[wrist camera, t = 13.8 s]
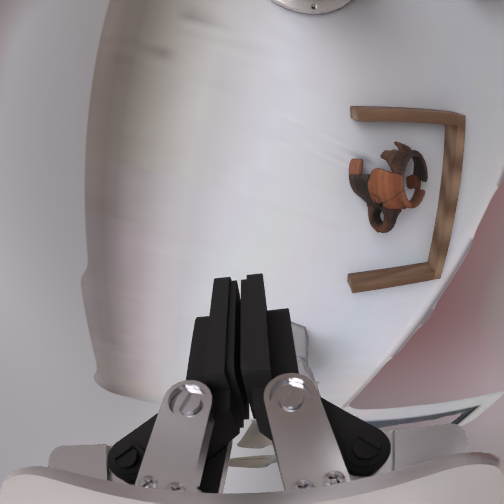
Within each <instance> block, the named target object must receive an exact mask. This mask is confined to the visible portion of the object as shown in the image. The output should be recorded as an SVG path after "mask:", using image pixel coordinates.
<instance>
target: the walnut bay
mask: <svg viewBox="0 0 504 504" xmlns="http://www.w3.org/2000/svg"><path fill="white" fill-rule="evenodd" d="M350 112H351V118H353V119H355V120H357V121H398V122H422V123H437V124H445V144H444V158H443V170H442V179H441V188H440V196H439V203H438V210H437V216H436V222H435V228H434V233H433V239H432V244H431V249H430V253H429V258H428V262H426V263H419V264H413V265H406V266H400V267H393V268H386V269H379V270H372V271H365V272H358V273H351V274H348V284H349V286H350V288H351V291H352V293H357V292H363V291H370V290H376V289H383V288H389V287H395V286H401V285H406V284H412V283H418V282H423V281H429V280H434V279H439V278H441V274H442V270H443V267H444V263H445V259H446V255H447V251H448V246H449V242H450V237H451V233H452V228H453V223H454V218H455V212H456V206H457V200H458V194H459V187H460V180H461V172H462V162H463V152H464V138H465V115H462V114H459V113H455V112H450V111H441V110H431V109H419V108H403V107H378V106H350Z"/></svg>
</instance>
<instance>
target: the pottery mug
mask: <svg viewBox="0 0 504 504" xmlns="http://www.w3.org/2000/svg"><path fill="white" fill-rule="evenodd" d="M394 143H395V145H396V146H397V147H398V148H399V150H400V151H398V150H391V151H388V150H385V151H384V152H383V153H382V154H381V158H382V159H384V160H386V161H387V163H388V164H389V166H390V168H391V170H392V172H389V171H385V170H383V169H380V168H376V169H374V170H372V172H371V174H370V175H369V174H367V175H362V174H361V172H362V164H363V160H362V159H352V160H351V162H350V166H349V180H350V185H351V187H352V189H353V191H354V192H355V193H356V194H357V195H358V196H360V197H361V198H362V199H363V200H364V201H365V202H366V203H367V206H368V216H369V221H370V224H371V226H372V227H373V228H374V229H375V230H376V231H377V232H381V233H386V232H389V231H390V230H391V229H392V228H393V227H394V225H395V223H396V219H397V217H398V215H399V213H400V212H401V209H406V208H407V207H408V208H415V207H416V206H418V205H419V204H420V202H421V201H422V199H423V197H424V195H425V191H424V190H421V189H420V187H421V180H422V181H424V182H427V178H428V176H427V175H428V174H427V166H426V162H425V160H424V158H423V156H422V155H421V153H419V152H418V151H416V150H411V149H410V148H409V147H408V146H406V145H404V144H401V143H399V142H394ZM411 157H412V158H413V161H414V172H413V175H410V176H408V177H407V187H408V188H410V189H412V188H414V189H415V192H414V194H413V197H412V199H411V200H410V201H409V200H408V199H407V197H406V195H405V191H404V182H403V178H404V176H403V175H404V171H405V167H406V164H407V162H408V161H409V159H410V158H411ZM381 211H383V214H384V221H382V220H381V218H380V213H381Z"/></svg>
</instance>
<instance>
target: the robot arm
mask: <svg viewBox="0 0 504 504" xmlns="http://www.w3.org/2000/svg"><path fill="white" fill-rule="evenodd" d="M272 1H274V2H275V3H277V4H278V5H280V6H283V7H284V8H287V9H290V10H293V11H296V12H300V13H306V14H321V13H328V12H331V11H335V10H337V9H339V8H341V7H343V6H344V5H345V4H347V3H348V2H349V1H350V0H272ZM311 7H314V8H315V10H313V9H312V8H311ZM249 404H250V407H251V411H252V414H253V418H254V419H256V420H257V424H258V428H259V431H260V432H261V433H262V434H263V435H265V436H266V437H267V438H269V439H270V440H272V443H273V447H274V451H275V455H276V459H277V463H278V467H279V471H280V475H281V479H282V483H283V487H284V491H280V492H267V493H246V494H245V493H243V494H223V490H224V485H225V479H226V475H227V469H228V464H229V459H230V454H231V448H232V439H233V438H235V437H236V436H237V435H238V434H239V433H240V428H242V427H244V419H249ZM0 504H504V461H503V460H502V459H501V458H500V457H498V456H496V455H493V454H490V453H482V452H469V449H468V441H467V436H466V433H465V431H464V430H463V429H462V428H461V427H460V426H458V425H456V424H443V425H434V426H426V427H413V428H399V429H394V431H381V430H380V429H378V428H376V427H374V426H372V425H370V424H368V423H367V422H365V421H363V420H361V419H359V418H357V417H355V416H353V415H352V414H350V413H348V412H346V411H344V410H343V409H341V408H339V407H337V406H335V405H334V404H332V403H330V402H328V401H327V400H325V399H323V398H321V397H320V396H319V394H318V391H317V389H316V386H315V385H314V383H313V381H311V380H310V379H309V378H308V377H306V376H304V375H301V374H299V370H298V364H297V357H296V351H295V345H294V338H293V332H292V326H291V320H290V314H289V309H288V308H287V309H278V310H269V311H267V305H266V297H265V289H264V281H263V274H253V275H247V279H245V280H241V299H240V294H239V289H238V284H237V281H231V278H230V277H225V278H215V279H214V284H213V292H212V300H211V308H210V316H206V317H197V318H196V320H195V325H194V331H193V337H192V343H191V350H190V356H189V363H188V370H187V377H186V380H185V381H181V382H178V383H177V384H175V385H173V386H172V387H171V388H170V389H169V390H168V391H167V392H166V394H165V396H164V398H163V401H162V404H161V407H160V410H159V413H157V414H156V415H155V416H153V417H152V418H150V419H149V420H148V421H147V422H145V423H144V424H142V425H141V426H139V427H138V428H137V429H135V430H134V431H132V432H131V433H130V434H128V435H127V436H125V437H124V438H122V439H121V440H120V441H118V442H117V443H116V444H114V445H113V446H108V445H106V444H98V445H77V446H60V447H57V448H55V449H54V450H53V451H52V453H51V454H50V457H49V466H48V467H42V466H32V467H25V468H21V469H18V470H15V471H13V472H11V473H10V474H9V475H8V476H7V477H6V479H5V481H4V482H3V484H2V487H1V490H0Z"/></svg>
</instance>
